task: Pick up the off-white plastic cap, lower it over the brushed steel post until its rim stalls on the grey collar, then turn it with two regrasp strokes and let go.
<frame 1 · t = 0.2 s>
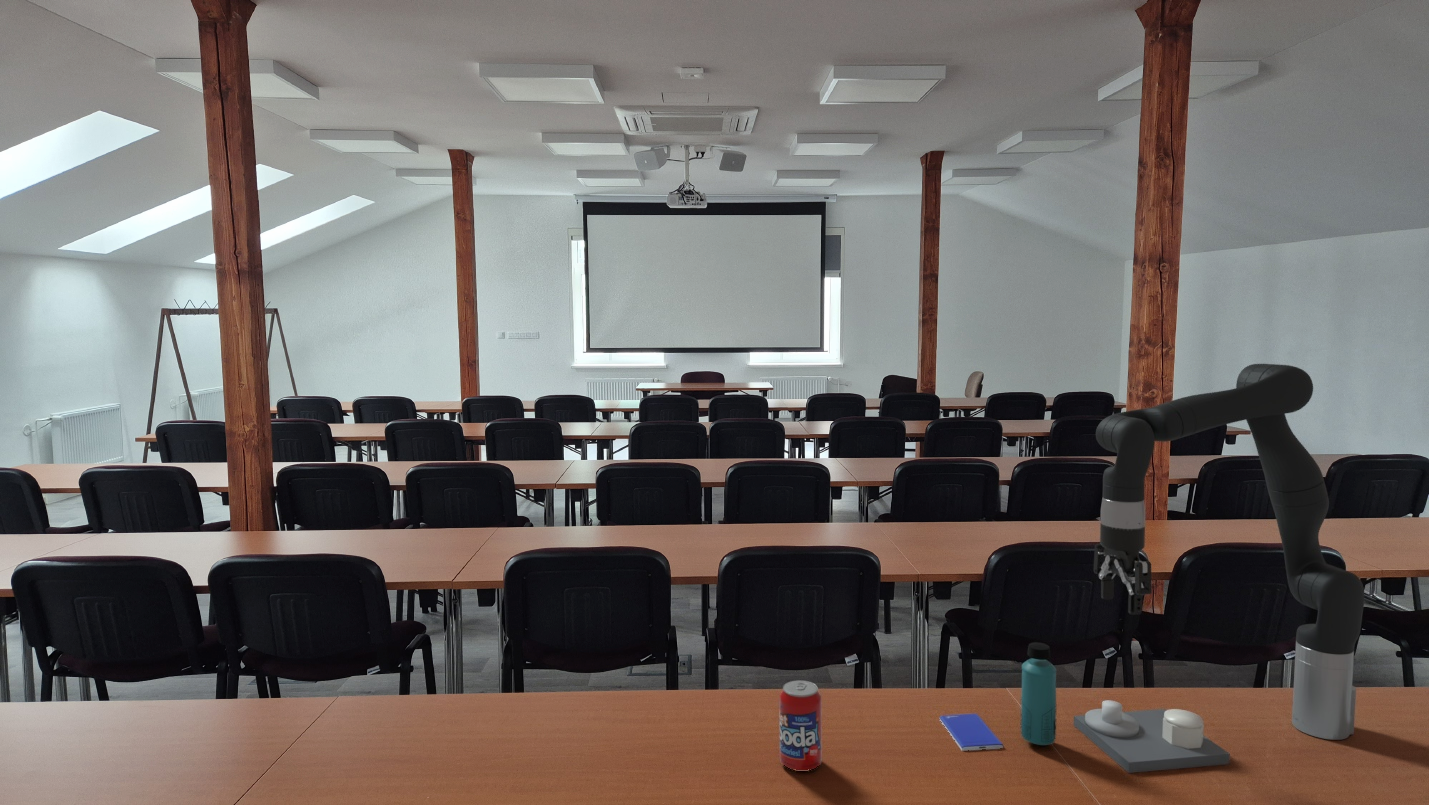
hand: (1120, 606, 156), 28 cm above the table, tool pointing down, fingers open, 8 cm apart
threaded post stand: (1147, 743, 159), on the table
beverage bottle: (1037, 745, 160), on the table
hard drive: (970, 737, 164), on the table
cap: (1182, 739, 157), point 2 cm above the table, touching threaded post stand
soda can: (800, 765, 154), on the table
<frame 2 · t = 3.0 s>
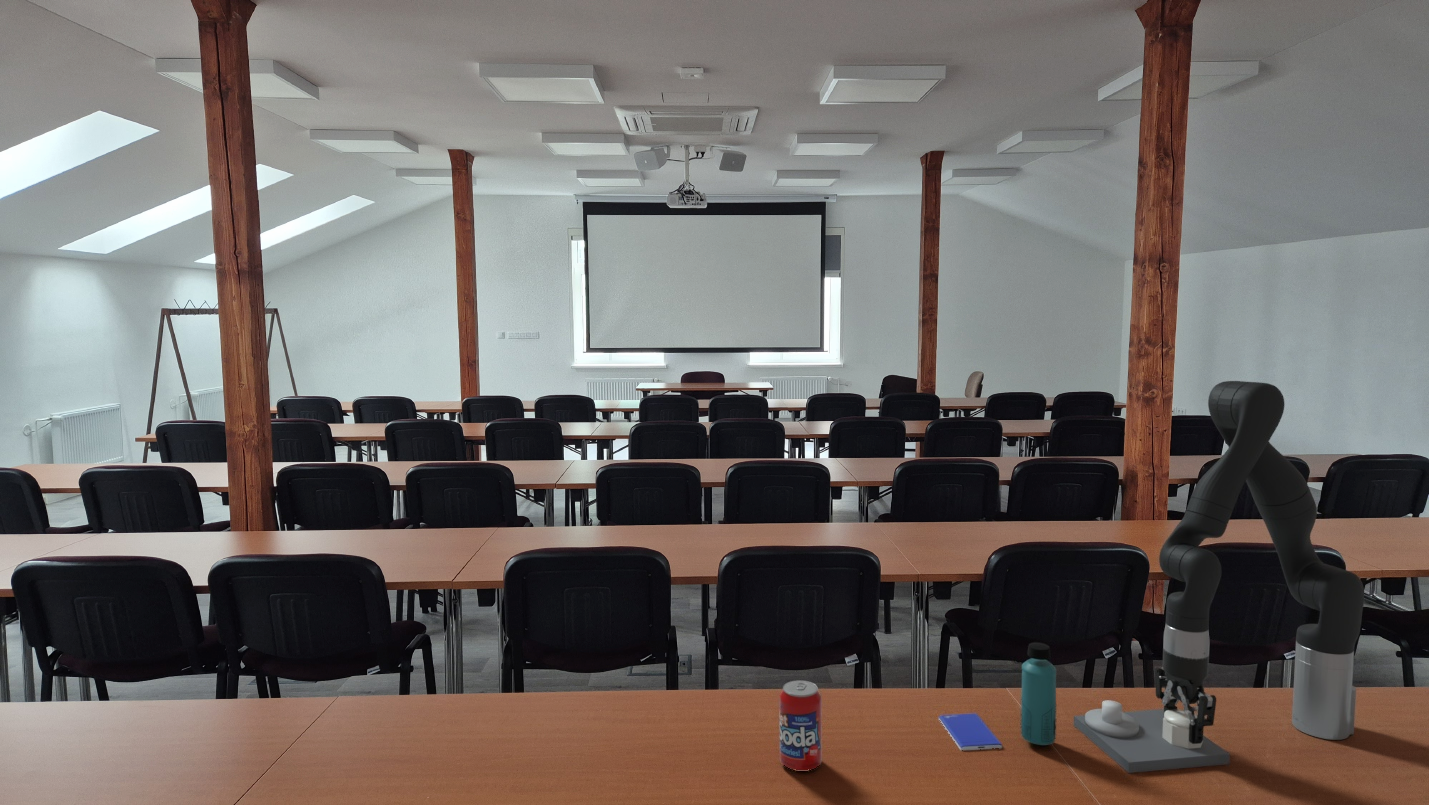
hand: (1182, 733, 157), 3 cm above the table, tool pointing down, fingers closed on cap, 6 cm apart
cap: (1182, 739, 157), point 2 cm above the table, touching gripper, threaded post stand
everything else where it was.
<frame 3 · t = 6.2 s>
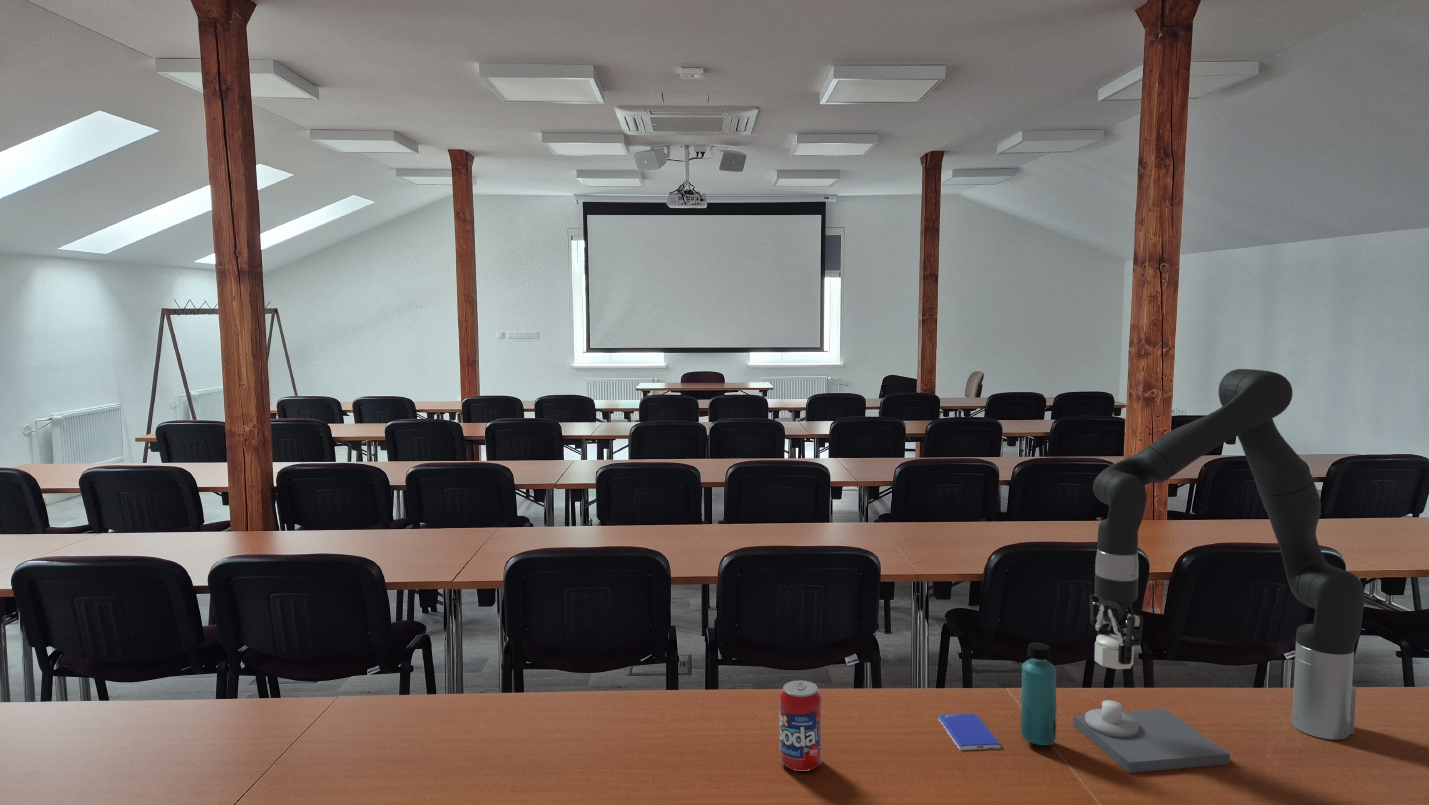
hand: (1113, 656, 161), 16 cm above the table, tool pointing down, fingers closed on cap, 6 cm apart
cap: (1113, 662, 161), point 15 cm above the table, touching gripper
everything else where it was.
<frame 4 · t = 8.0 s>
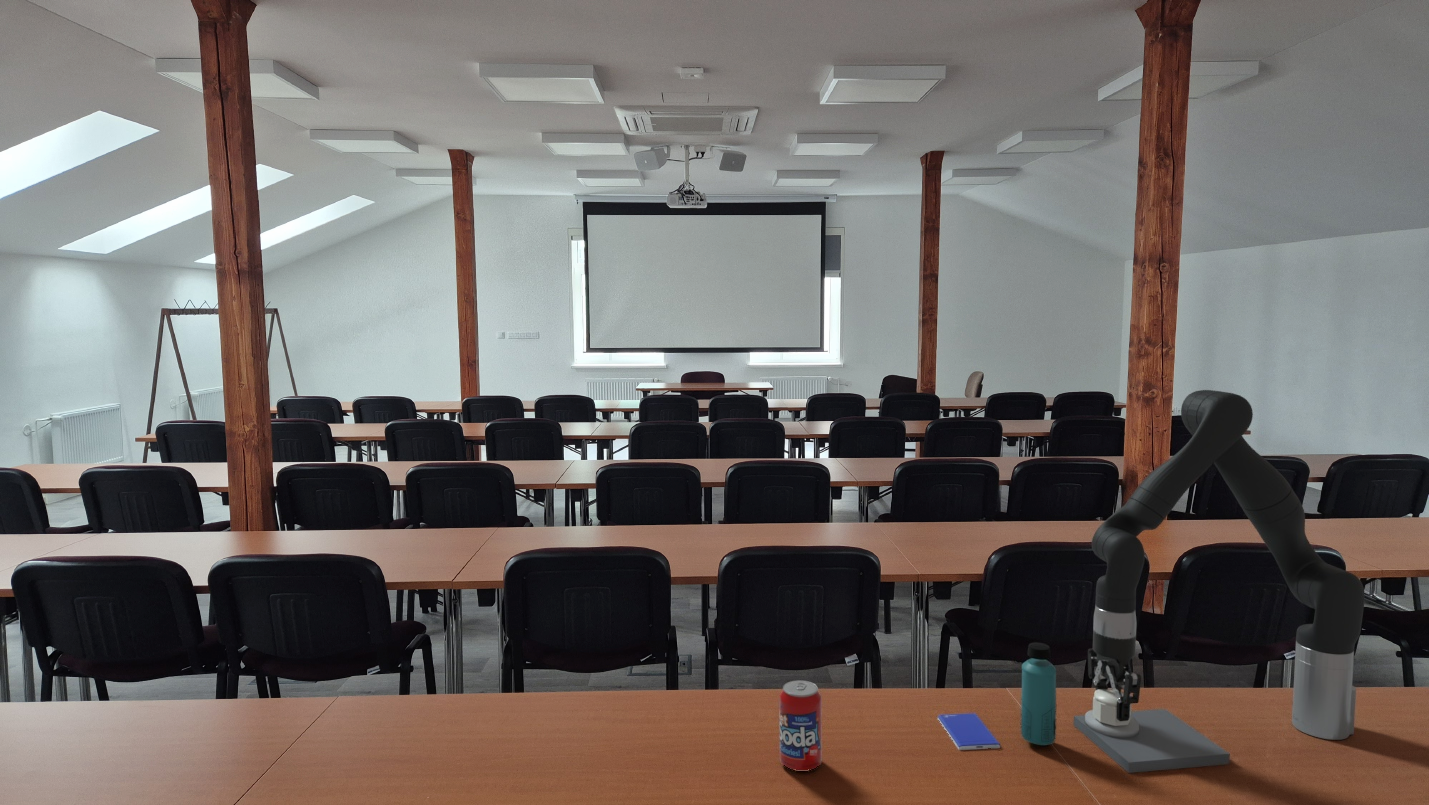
hand: (1111, 711, 162), 5 cm above the table, tool pointing down, fingers closed on cap, 6 cm apart
cap: (1111, 717, 162), point 4 cm above the table, touching gripper
everything else where it was.
when the fingers open (4 cm above the table, at t = 9.5 s): cap stays where it is, resting on threaded post stand.
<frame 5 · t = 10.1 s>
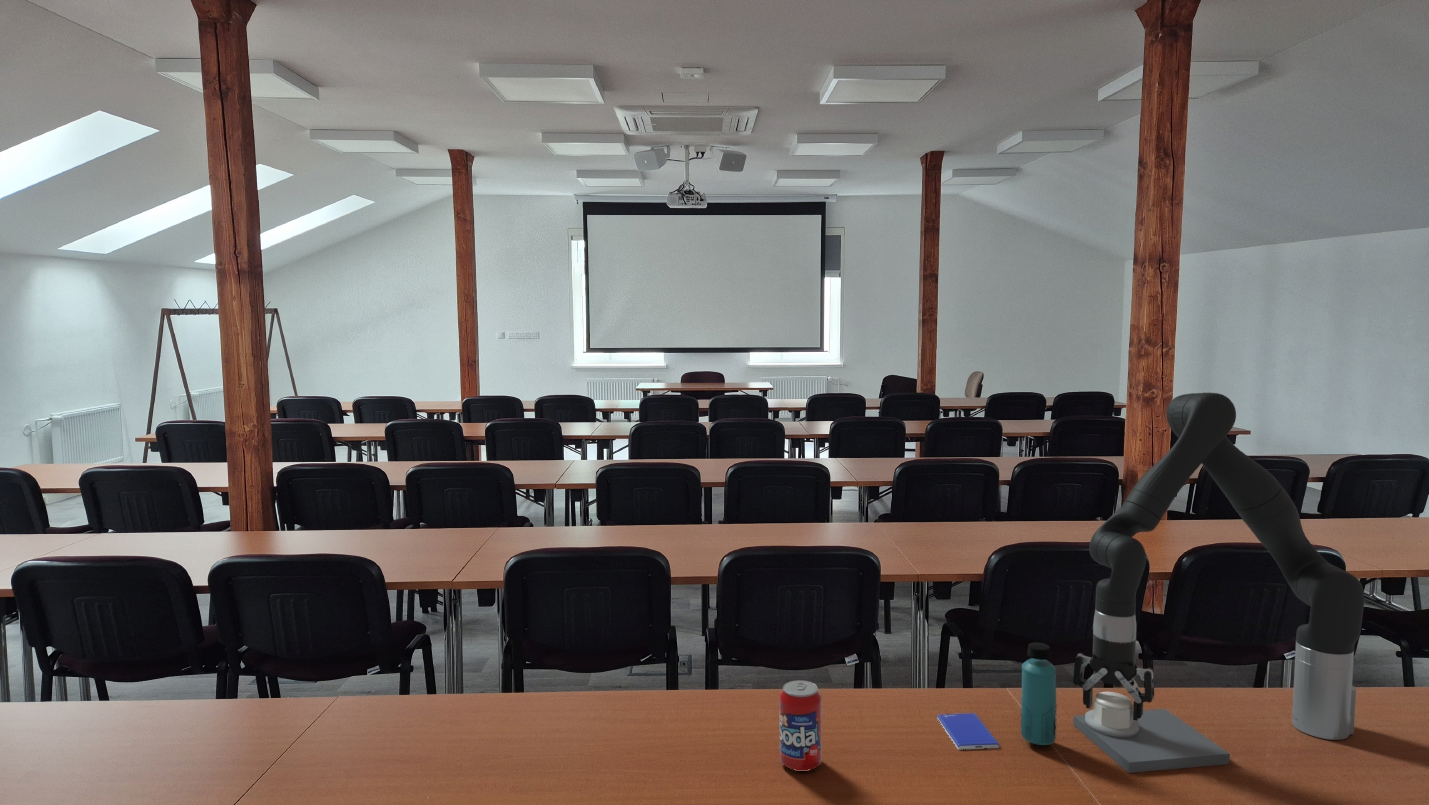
hand: (1112, 713, 162), 5 cm above the table, tool pointing down, fingers open, 8 cm apart
cap: (1112, 720, 162), point 3 cm above the table, touching threaded post stand
everything else where it was.
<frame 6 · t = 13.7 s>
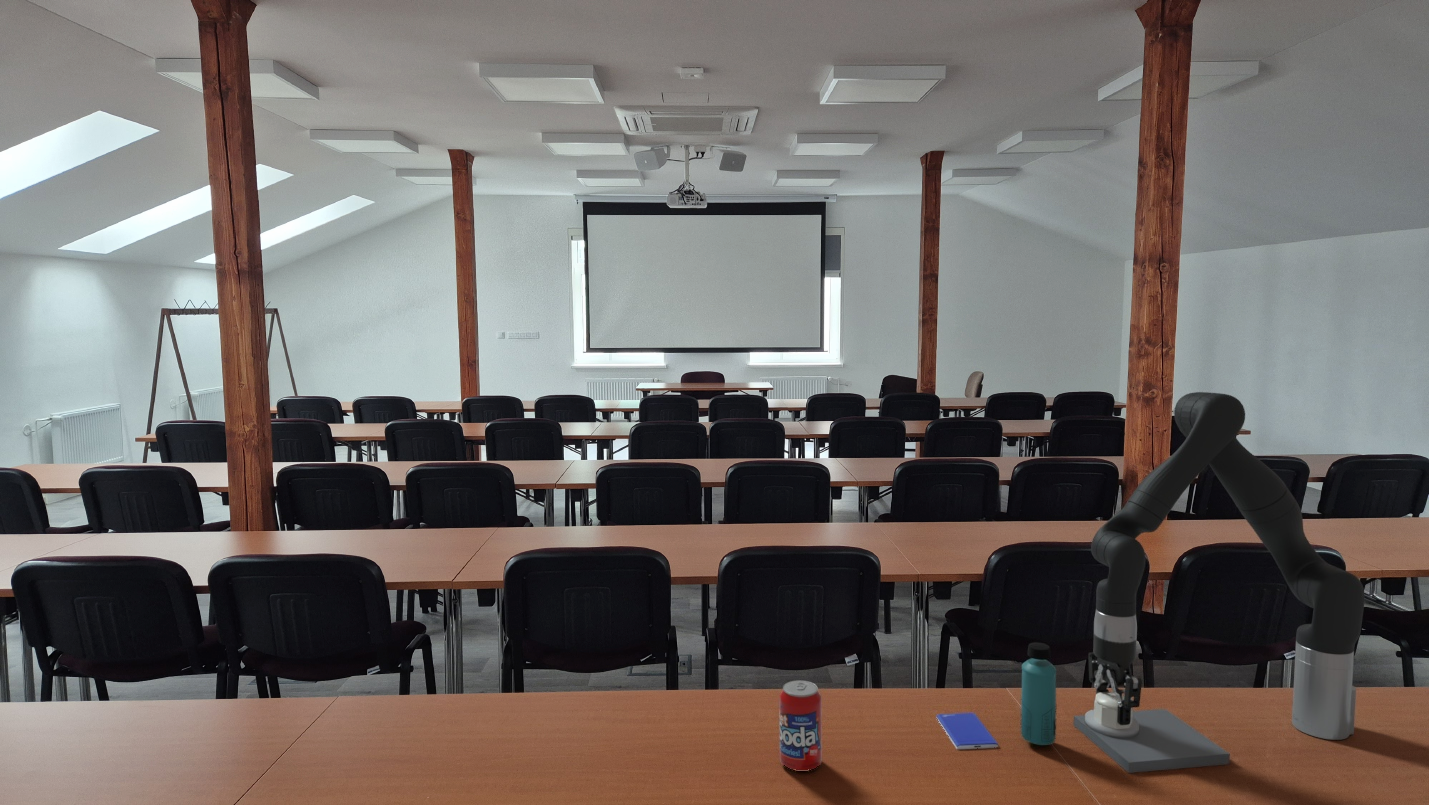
hand: (1112, 715, 162), 4 cm above the table, tool pointing down, fingers closed on cap, 6 cm apart
cap: (1112, 720, 162), point 3 cm above the table, touching gripper, threaded post stand
everything else where it was.
when the fingers open (4 cm above the table, at t = 15.4 s): cap stays where it is, resting on threaded post stand.
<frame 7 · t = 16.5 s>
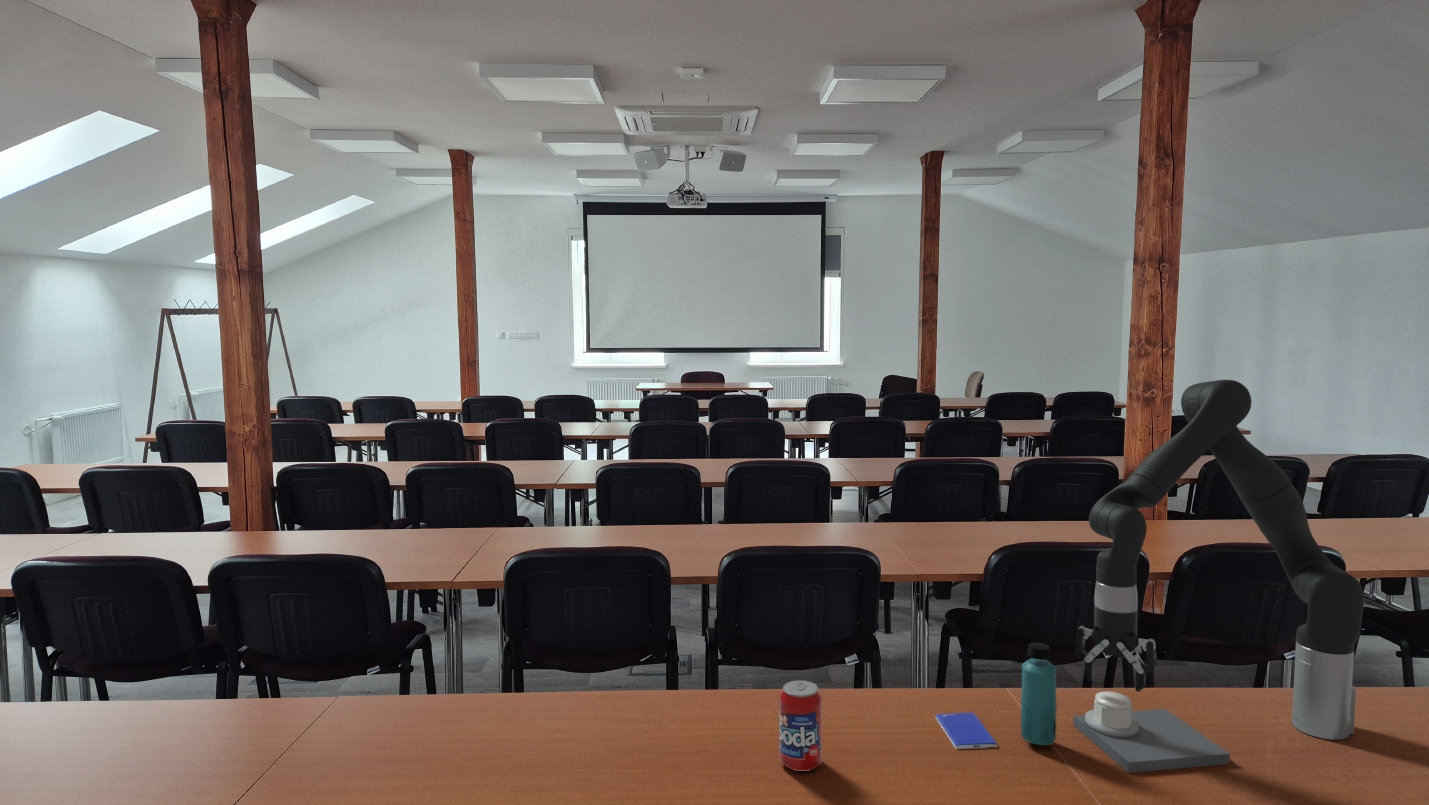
hand: (1114, 684, 161), 11 cm above the table, tool pointing down, fingers open, 8 cm apart
cap: (1112, 720, 162), point 3 cm above the table, touching threaded post stand
everything else where it was.
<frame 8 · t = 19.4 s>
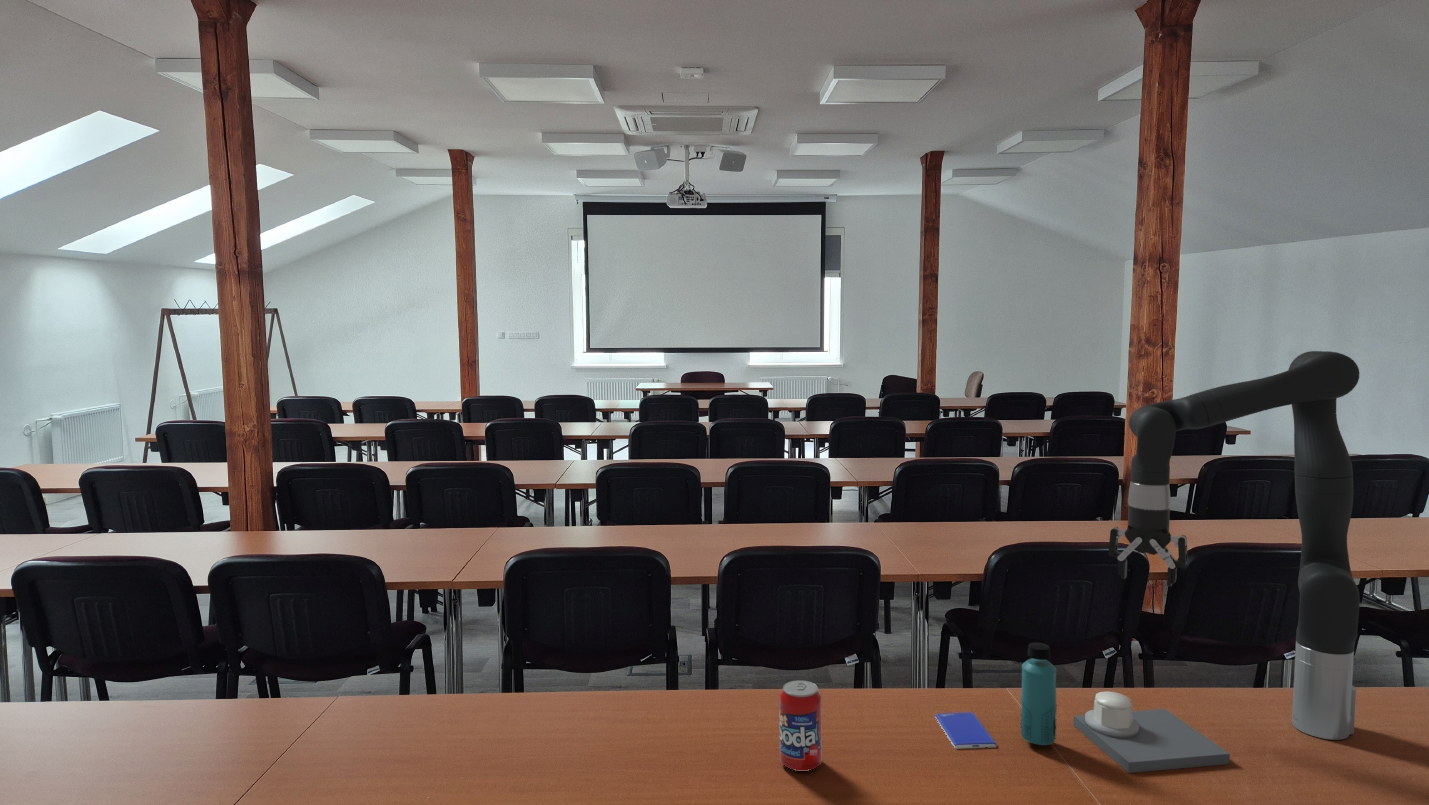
hand: (1146, 581, 169), 28 cm above the table, tool pointing down, fingers open, 8 cm apart
at the end: cap 0.3 cm from the target spot on the threaded post stand, point 3.2 cm above the threaded post stand's base; cap tilted 0°; the gripper is holding nothing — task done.
